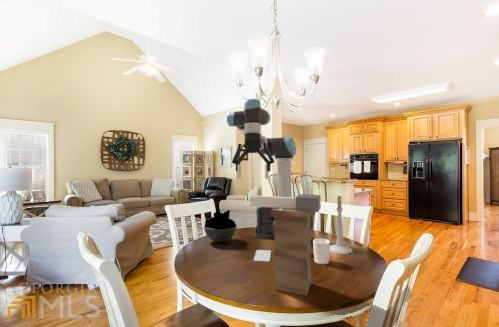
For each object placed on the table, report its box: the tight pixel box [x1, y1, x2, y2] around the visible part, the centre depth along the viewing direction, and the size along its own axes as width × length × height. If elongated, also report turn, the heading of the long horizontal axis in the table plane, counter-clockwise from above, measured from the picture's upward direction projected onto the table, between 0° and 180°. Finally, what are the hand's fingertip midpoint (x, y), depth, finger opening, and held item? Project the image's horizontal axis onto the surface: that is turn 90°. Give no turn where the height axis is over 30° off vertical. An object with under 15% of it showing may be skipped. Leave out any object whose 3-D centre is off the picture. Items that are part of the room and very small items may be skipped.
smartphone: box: [252, 249, 272, 263], centre depth 126 cm, size 8×1×15 cm
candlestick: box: [330, 195, 354, 255], centre depth 134 cm, size 13×13×30 cm
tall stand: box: [271, 208, 314, 296], centre depth 94 cm, size 12×14×30 cm
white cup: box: [312, 238, 331, 265], centre depth 118 cm, size 8×8×10 cm
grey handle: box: [249, 193, 322, 213], centre depth 96 cm, size 9×27×5 cm, turn 69°
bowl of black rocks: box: [203, 209, 238, 243], centre depth 151 cm, size 20×20×19 cm
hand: (252, 178), depth 114 cm, fingers open, 13 cm apart
